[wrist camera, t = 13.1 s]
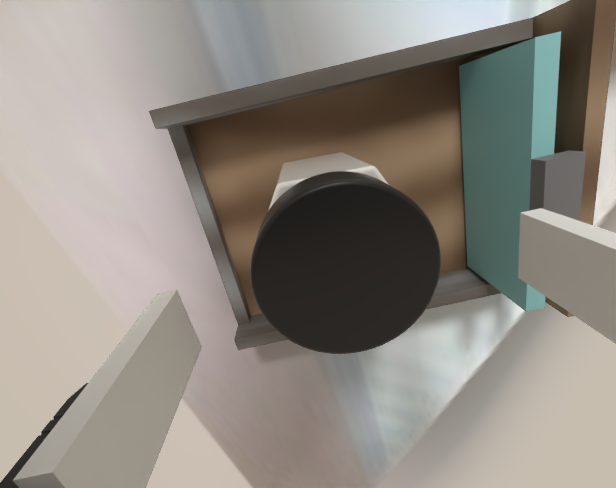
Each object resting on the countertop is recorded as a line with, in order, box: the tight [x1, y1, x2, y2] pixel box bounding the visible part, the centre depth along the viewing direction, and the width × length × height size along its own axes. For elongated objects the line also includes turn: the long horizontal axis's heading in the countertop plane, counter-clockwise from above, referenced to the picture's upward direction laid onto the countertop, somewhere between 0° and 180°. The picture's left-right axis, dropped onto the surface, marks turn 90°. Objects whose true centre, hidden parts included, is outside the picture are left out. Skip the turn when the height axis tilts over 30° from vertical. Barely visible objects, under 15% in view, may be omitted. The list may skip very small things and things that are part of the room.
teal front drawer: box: [149, 0, 616, 350], centre depth 21 cm, size 18×24×8 cm
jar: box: [250, 152, 441, 354], centre depth 19 cm, size 9×8×12 cm
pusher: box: [459, 31, 586, 311], centre depth 20 cm, size 15×2×8 cm, turn 13°
